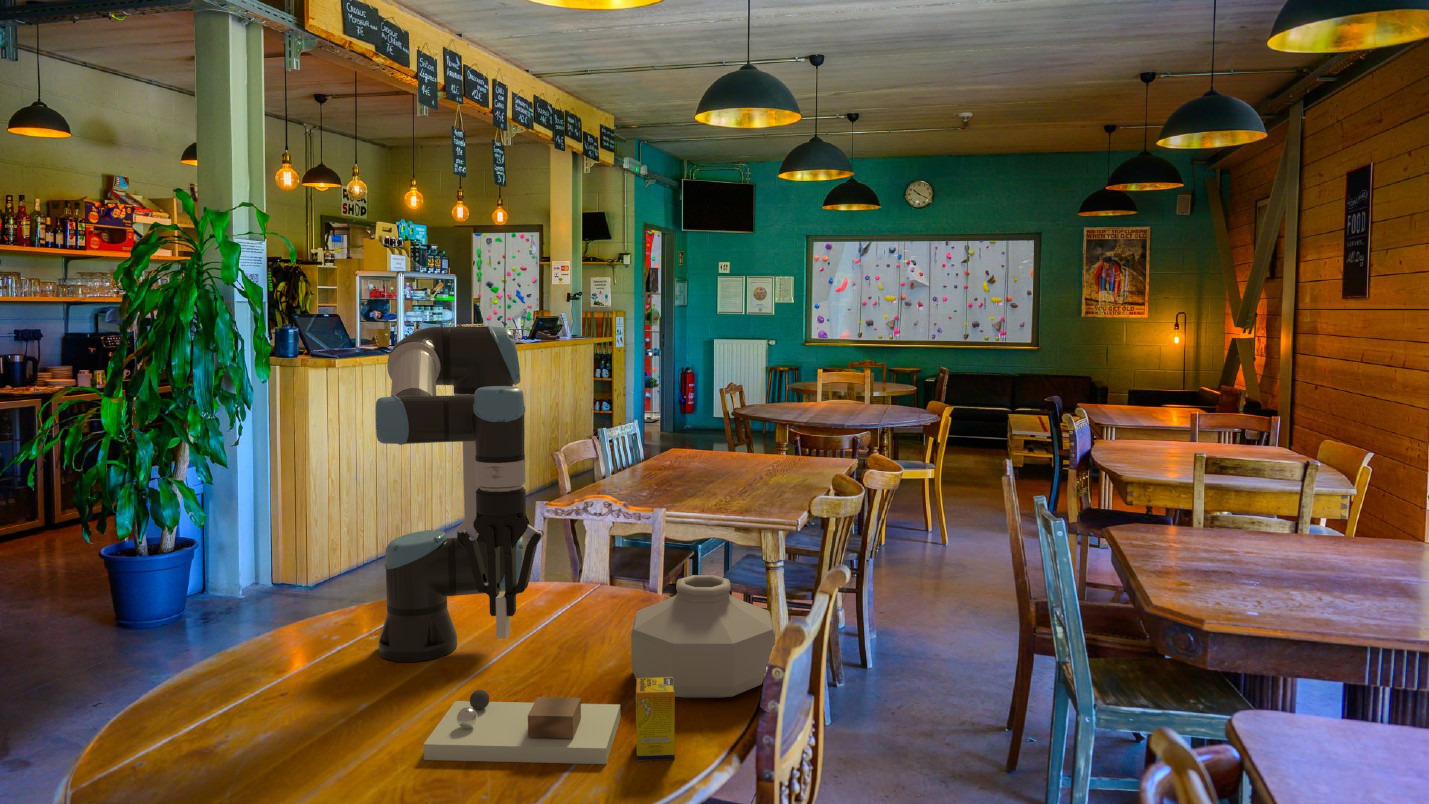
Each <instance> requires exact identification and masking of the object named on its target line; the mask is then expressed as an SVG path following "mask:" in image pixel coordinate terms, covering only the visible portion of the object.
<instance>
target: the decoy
mask: <svg viewBox="0 0 1429 804" xmlns="http://www.w3.org/2000/svg"><path fill="white" fill-rule="evenodd" d="M469 701H470V705H471V706H472V707H473V708H474V709H476V710H482V709H484V708H486V707H487V705H488V704H489V702H490V694H489V693H488V692H487V691H486V690H484V689H477V690H475V691H473V692H472V694H470V697H469Z"/></svg>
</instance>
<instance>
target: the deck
mask: <svg viewBox="0 0 1429 804" xmlns="http://www.w3.org/2000/svg"><path fill="white" fill-rule="evenodd" d="M534 703H535V702H521V701H520V702H519V701H517V702H516V701H515V702H513V701H508V702H507V701H489V704H488V705H487V707H486V708H484V709H482V710H476V709H474V708H473V707H472V706H471V705H470V700H468V701H467V700H456V701H454V703H453V704H452V705H451V707H450V708H449V709H448V710H447V711H446V713H445V715H444V716H443V718H441V720H440V721H439V723H438V724H437V725H436V726H435V728H434V729H433V731H432V732H431V733H430V735H429V736H428V738H427V739H426V740H425V741H424V743H423V760H424V761H450V762H451V761H453V762H454V761H459V762H460V761H461V762H495V763H496V762H497V763H500V762H502V763H505V762H506V763H535V764H537V763H539V764H540V763H543V764H545V763H547V764H577V765H578V764H582V765H583V764H585V765H588V764H589V765H597V764H598V765H607V763H608V760H609V756H610V754H611V750H612V747H613V744H614V740H615V737H616V734H617V731H618V728H619V725H620V721H621V704H619V703H618V704H614V703H612V704H611V703H610V704H608V703H581V720H580V722H579V725H578V727H577V730H576V732H575V735H574V737H573V738H539V737H528V714H529V712H530V710H531V708H532V707H533V705H534ZM467 707H469V708H473V709H474V710H475V711H476V712H477V716H478V719H477V722H476V724H475V725H474V726H473V727H471V728H468V729H465V728H462V727H460V726H459V725H458V723H457V715H458V713H459V712H460V710H462V709H463V708H467Z"/></svg>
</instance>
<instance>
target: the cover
mask: <svg viewBox="0 0 1429 804" xmlns="http://www.w3.org/2000/svg"><path fill="white" fill-rule="evenodd" d="M533 703H534V705H533V707H532V708H531V710H530V712H529V714H528V737H539V738H573V737H574V735H575V732H576V730H577V727H578V725H579V722H580V720H581V704H582V697H559V696H557V697H555V696H554V697H553V696H537V698H536V700H535V701H534V702H533Z"/></svg>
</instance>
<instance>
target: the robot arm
mask: <svg viewBox="0 0 1429 804" xmlns="http://www.w3.org/2000/svg"><path fill="white" fill-rule="evenodd" d="M516 345H517V344H516V340H515V336H514V334H513V332H512V331H511V329H509V328H507V327H503V326H491V325H487V326H486V325H485V326H431V327H426V328H422V329H419V330H417V331H415V332H412V333H410V334H408V335H407V336H405V337H403V338H402V339H401V340H399V341H398V342H397V343H396V344H395V345H394V347H393V348H392V349H391V350H390V352H389V355H388V359H387V363H386V364H387V365H386V366H387V373H388V376H389V378H390V379H391V387H390V388H391V389H390V396H383V397H379V398H378V399H377V400H376V401H375V433H376V440H377V441H378V442H379V443H380V444H385V445H386V444H388V445H391V444H392V445H394V444H396V445H400V446H403V445H411V444H413V445H414V444H415V445H416V444H432V443H433V444H435V443H437V444H438V443H461V442H462V463H463V464H462V465H463V467H462V469H463V508H464V509H463V512H464V519H463V521H462V522H461V524H459V525H458V526H457V529H456V536H455V537H448V536H447V534H446V532H445V531H443V530H441V529H440V530H439V529H435V530H434V529H426V530H420V531H419V530H418V531H415V532H410V533H407V534H404V535H401V536H398V537H396V538H394V539H393V540H391V541H390V542H389V543H388V544H387V546H386V549H385V560H384V562H385V563H384V567H383V568H384V569H385V588H386V589H385V590H386V592H385V593H386V617H385V620H384V622H383V626H382V629H381V631H380V632H381V633H380V636H379V639H378V654H379V656H380V657H382V658H383V659H385V660H387V661H388V660H389V661H392V662H401V663H410V662H411V663H413V662H423V661H430V660H434V659H438V658H440V657H443V656H446V655H448V654H451V653H452V652H454V651H455V650H456V649H457V646H458V634H457V631H456V628H455V626H454V623H453V620H452V617H451V615H450V612H449V610H448V597H457V596H469V595H471V596H473V595H481V594H482V595H484V594H486V595H487V596H488V597H489V614H490V616H491V617H495V624H496V625H495V630H496V631H495V632H496V639H497V640H498V639H502V640H505V639H507V638H508V637H509V635H510V634H511V617H514V616H515V614H516V612H517V595H518V594H523V593H524V592H525V590H526V589H527V588H528V587H529V581H530V577H531V573H532V570H533V565H534V561H535V557H536V552H537V548H538V544H539V543H540V541H541V540H542V538H543V537H544V533H545V532H544V530H542V529H536V528H535V527H534V526H532V525H530V520H529V518H528V516H527V498H526V497H527V496H526V495H527V494H526V488H525V487H524V485H525V483H526V459H525V458H526V454H525V413H526V406H525V400H524V399H525V398H524V391H523V389H522V388H521V387H518V386H517V385H519V384H520V383H521V368H520V361H519V355H518V347H517V346H516ZM437 386H453V395H437ZM525 533H526V536H525V540H526V542H527V544H526V546H525V551H524V538H523V536H524V534H525Z"/></svg>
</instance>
